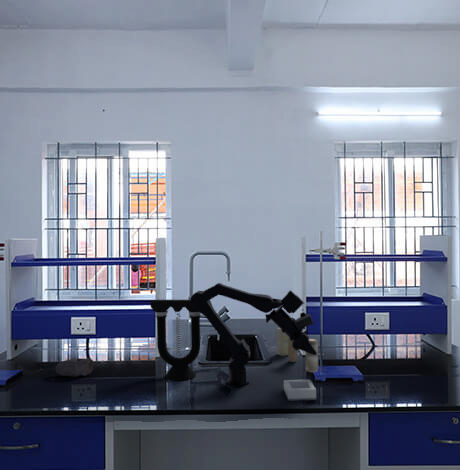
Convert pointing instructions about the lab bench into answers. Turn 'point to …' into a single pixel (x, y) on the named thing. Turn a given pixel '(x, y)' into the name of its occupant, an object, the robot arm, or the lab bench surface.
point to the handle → (291, 352)
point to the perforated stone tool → (75, 367)
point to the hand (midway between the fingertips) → (315, 352)
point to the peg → (312, 357)
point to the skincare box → (281, 342)
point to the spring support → (179, 365)
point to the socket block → (299, 390)
